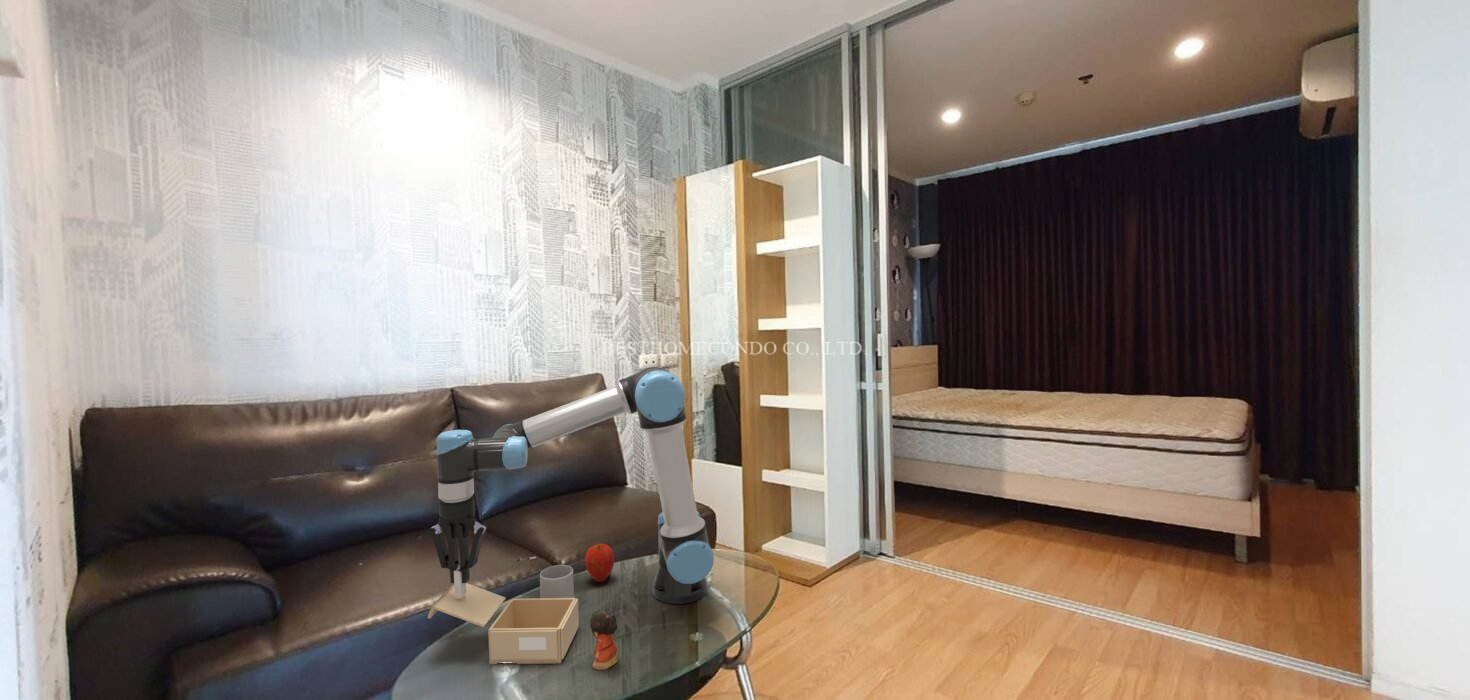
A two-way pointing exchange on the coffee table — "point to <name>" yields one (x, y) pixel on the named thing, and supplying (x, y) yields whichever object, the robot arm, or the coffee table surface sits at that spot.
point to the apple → (599, 561)
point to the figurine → (604, 639)
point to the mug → (557, 582)
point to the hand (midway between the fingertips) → (460, 595)
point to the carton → (533, 631)
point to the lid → (469, 605)
